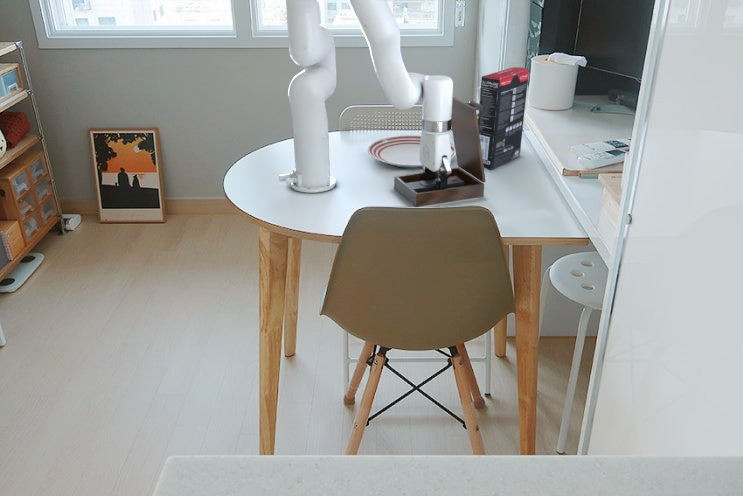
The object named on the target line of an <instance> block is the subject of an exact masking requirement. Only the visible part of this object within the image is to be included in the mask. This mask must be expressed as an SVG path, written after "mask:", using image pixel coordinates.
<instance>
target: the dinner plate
mask: <svg viewBox="0 0 743 496" xmlns="http://www.w3.org/2000/svg"><path fill="white" fill-rule="evenodd" d="M420 141H421V135H416V134H415V135H412V134H411V135H409V134H408V135H407V134H405V135H395V136H387V137H384V138H381V139H378V140H375V141H374V142H372V143H370V144H369V145H368V147H367V153H368V155H369V156H371V157H372V158H373V159H375V160H377V161H379V162H382V163H385V164H387V165H391V166H395V167H398V168H407V169H417V168H418V169H421V168H422V169H423V164H422V163H421V162H420V160H419V155H420ZM454 157H456V151H455V145H454V144H453V143H451V160H453V158H454Z"/></svg>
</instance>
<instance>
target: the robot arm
mask: <svg viewBox="0 0 743 496" xmlns="http://www.w3.org/2000/svg"><path fill="white" fill-rule="evenodd" d="M347 2H348V4H349V6H350V8H351V10H352V12H353V14H354V16H355V18H356V21H357V23H358V25H359V27H360V29H361V31H362V33H363V35H364V37H365V40H366V42H367V45H368V47H369V52H370V57H371V60H372V64H373V68H374V72H375V74H376V77H377V80H378V82H379V84H380V86H381V88H382V90H383V92H384V94H385V97H386V99H387V100H388V102H389V103H390V105H392V106H393V107H394V108H395V109H397V110H399V111H400V110H402V111H405V110H409V109H411V108H413V107H415V106H416V104H417V103H418V102H422V118H421V121H422V122H421V125H422V126H421V133H420V136H421V141H420V155H419V160H420V162H421V163H422V164H423V167H422V172H423V181H424V180H431V179H435V172H436V176H437V181H436V189H435V190H441V189H447V184H448V180H449V176H450V174H451V168H452V167H451V161H452V159H451V144H452V143H451V132H452V98H453V97H454V94H453V93H454V81H453V79H452V78H451V77H449V76H448V75H441V74H435V75H427V74H423V73H418V72H408V71H407V68H406V66H405V63H404V60H403V56H402V51H401V30H400V28H399V25H398V23H397V21H396V18H395V16H394V14H393V12H392V10H391V7H390V5H389V3H388V1H387V0H347ZM285 8H286V24H287V38H288V39H287V40H288V51H289V56H290V58H291V60H292V61H293V62H294V64H295V65H298V67H302V71H301V72H299V73H297V74H296V75H295V76H294V77H293V78H292V79H291V81H290V83H289V86H288V90H287V97H288V103H289V107H290V113H291V118H292V119H291V120H292V121H291V122H292V133H293V150H294V167H295V168H292V171H291V172H289V173H285V174H284V173H283V174H278V181H279V182H280V183H281V182H285V184H290V187H291V189H293V190H294V191H297V192H301V193H307V194H309V193H311V194H312V193H314V194H315V193H322V192H326V191H329V190H332V189H333V188H335V187H336V186H337V181H336V178H334V177H333V176H331V165H330V138H329V119H328V112H327V108H326V100H327V99H329V98H330V97H331V96H332V95H333V94H334V93H335V91H336V88H337V81H338V80H337V75H338V74H337V58H336V57H337V55H336V43H335V39H334V35H333V34H332V32H331V30H330V29H328V27H326V26H325V25H323V24H322V21H321V7H320V3H319V0H285ZM443 171H444V173H443V174H442V175H441V176H440V172H443Z"/></svg>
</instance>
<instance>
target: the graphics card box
mask: <svg viewBox="0 0 743 496" xmlns="http://www.w3.org/2000/svg"><path fill="white" fill-rule="evenodd" d="M529 72H530V69H529V68H526V67H519V66H512V67H508V68H505V69H502V70H499V71H496V72H492V73H489V74H485V75H482V76H481V81H480V86H481V92H480V104H481V105H483V110H482V111H479V116H478V127H479V135H480V143H481V150H482V158H483V165H484V169H488V170H494V169H496V168H498V167H501V166H502V165H505V164H507V163H509V162H511V161H514V160H515V159H517V158H520V156H521V155H520V154H521V148H522V147H521V146H522V139H523V138H522V137H523V128H524V120H525V111H526V103H527V102H526V101H527V91H528V82H529Z"/></svg>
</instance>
